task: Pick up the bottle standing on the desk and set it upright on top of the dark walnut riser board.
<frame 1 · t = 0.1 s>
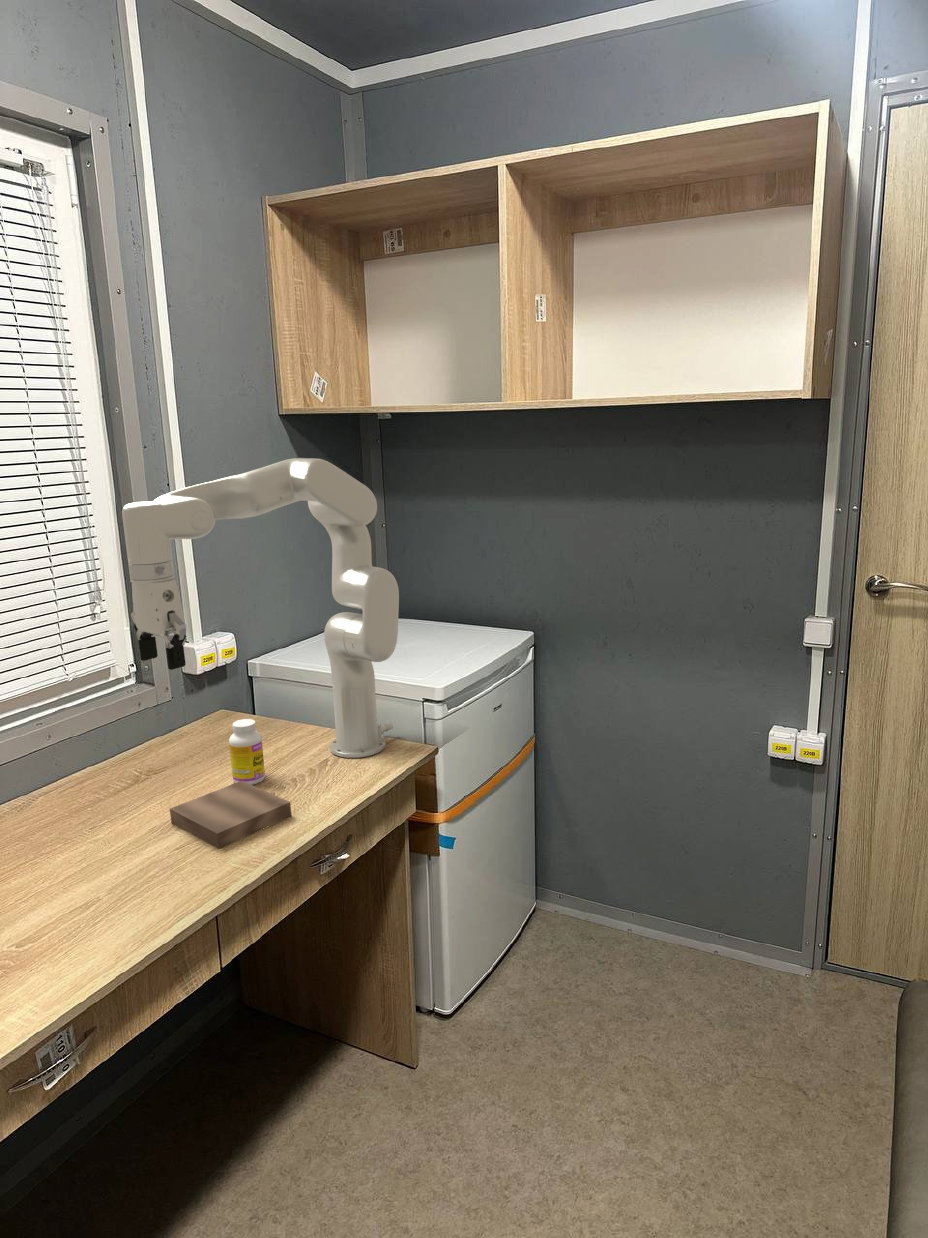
hand: (162, 663, 160), 31 cm above the table, tool pointing down, fingers open, 9 cm apart
walnut riser: (231, 820, 166), on the table
supplement bottle: (249, 781, 184), on the table
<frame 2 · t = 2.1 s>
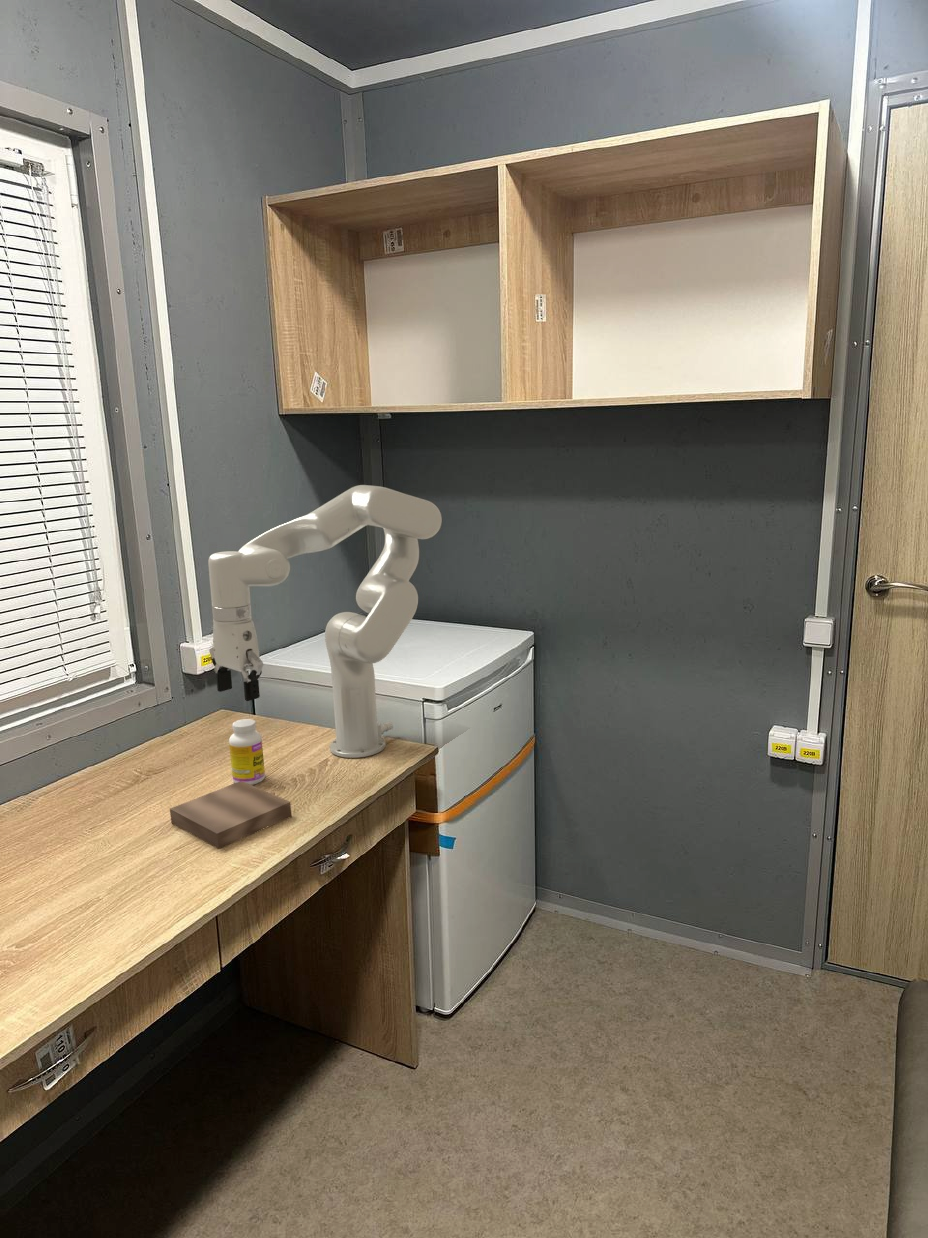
hand: (238, 694, 179), 19 cm above the table, tool pointing down, fingers open, 9 cm apart
nothing on the table moved.
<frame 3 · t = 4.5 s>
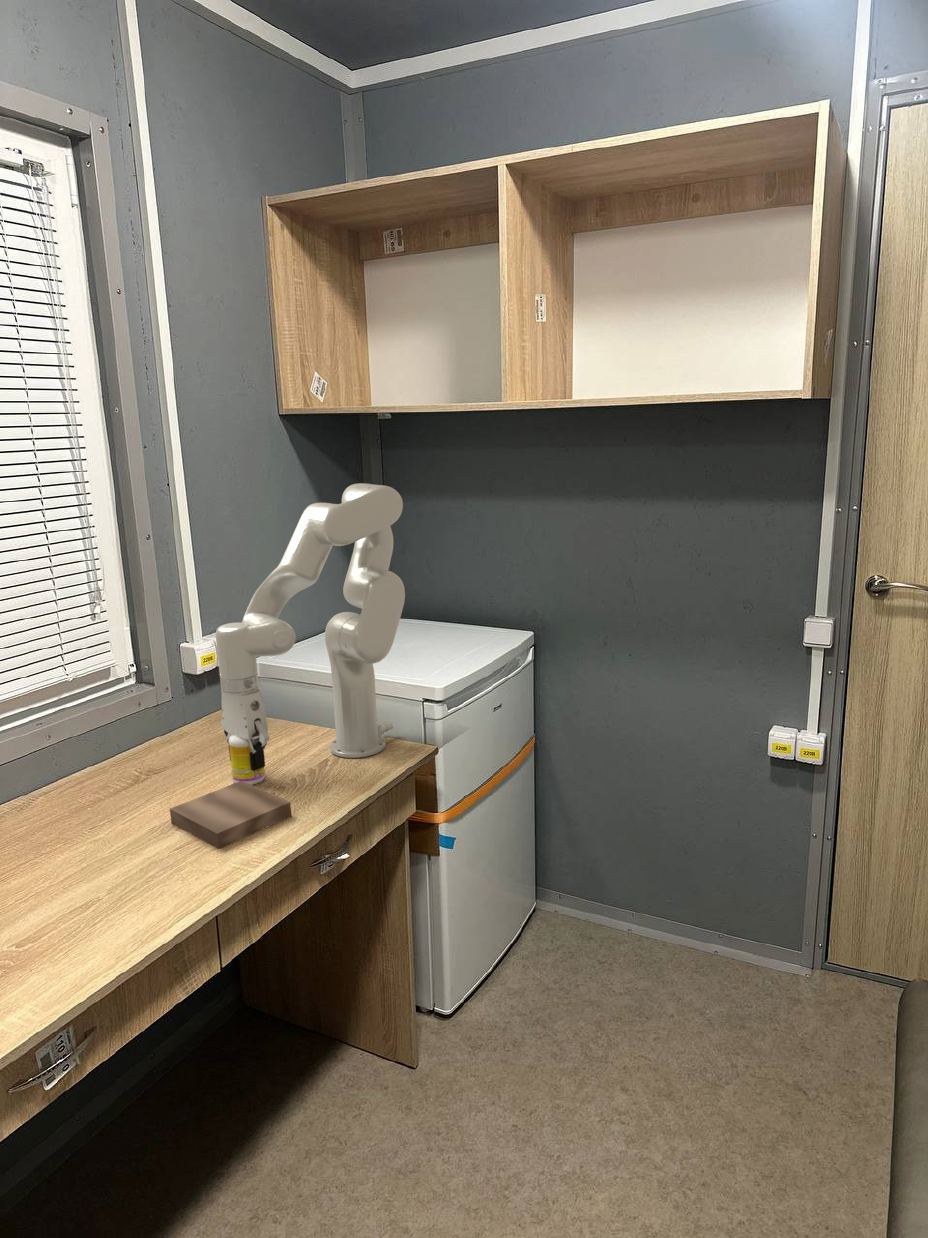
hand: (247, 763, 183), 4 cm above the table, tool pointing down, fingers closed on supplement bottle, 6 cm apart
supplement bottle: (249, 781, 184), on the table, touching gripper
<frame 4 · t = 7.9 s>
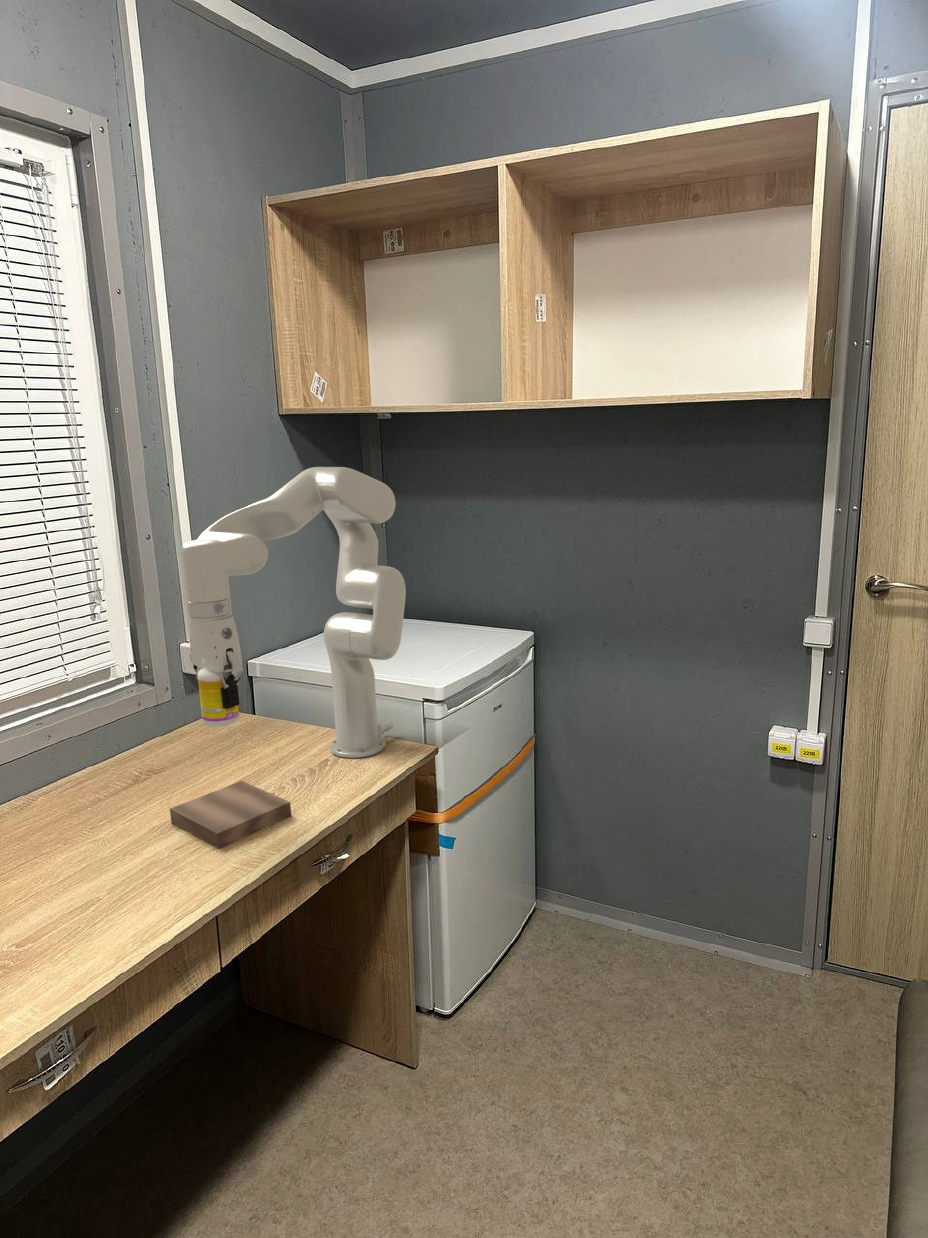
hand: (219, 702, 161), 24 cm above the table, tool pointing down, fingers closed on supplement bottle, 6 cm apart
supplement bottle: (221, 722, 161), point 20 cm above the table, touching gripper
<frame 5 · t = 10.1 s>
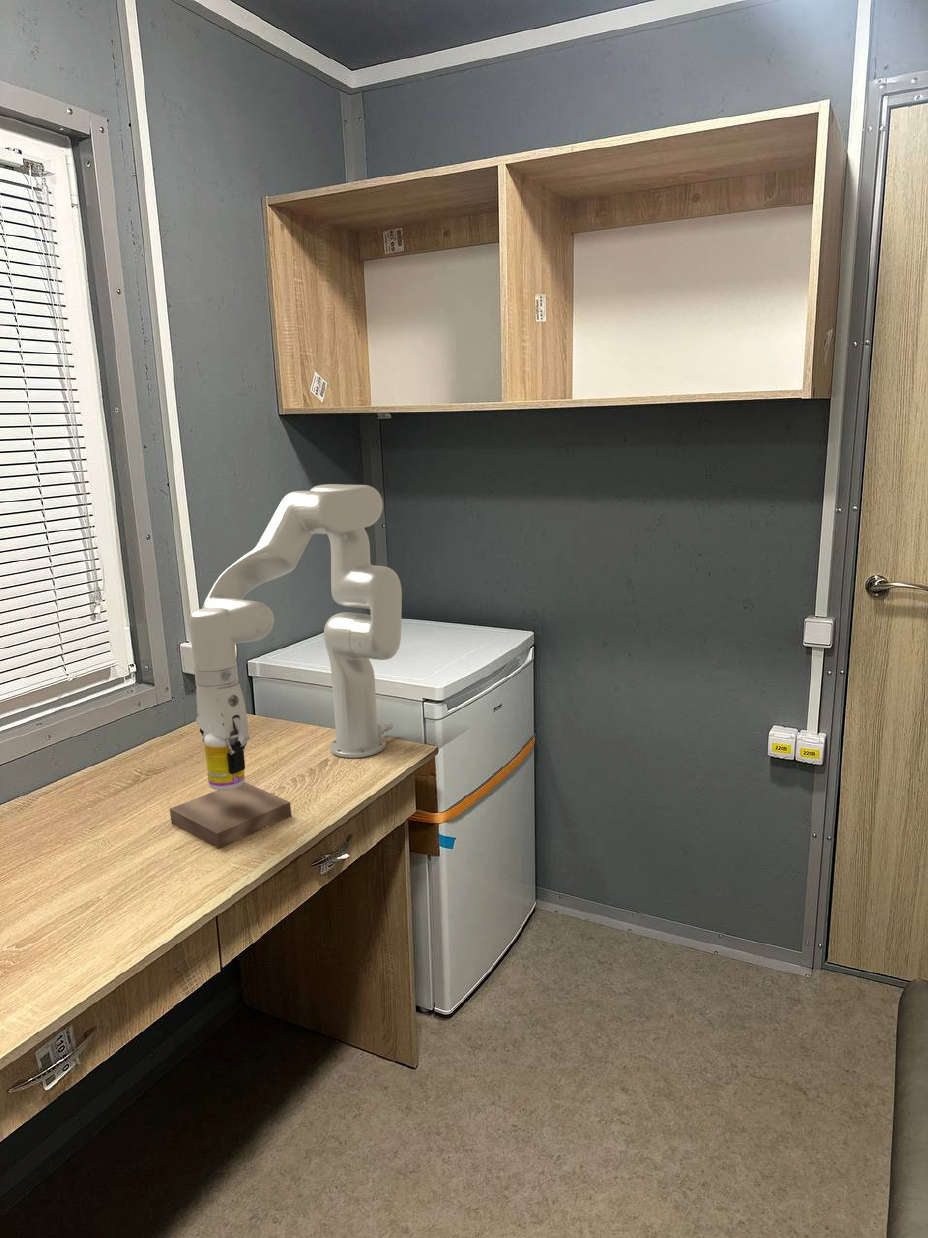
hand: (225, 766, 163), 11 cm above the table, tool pointing down, fingers closed on supplement bottle, 6 cm apart
supplement bottle: (227, 785, 164), point 7 cm above the table, touching gripper
when the fingers open (8 cm above the table, at t = 11.7 s): supplement bottle drops 1 cm, resting on walnut riser.
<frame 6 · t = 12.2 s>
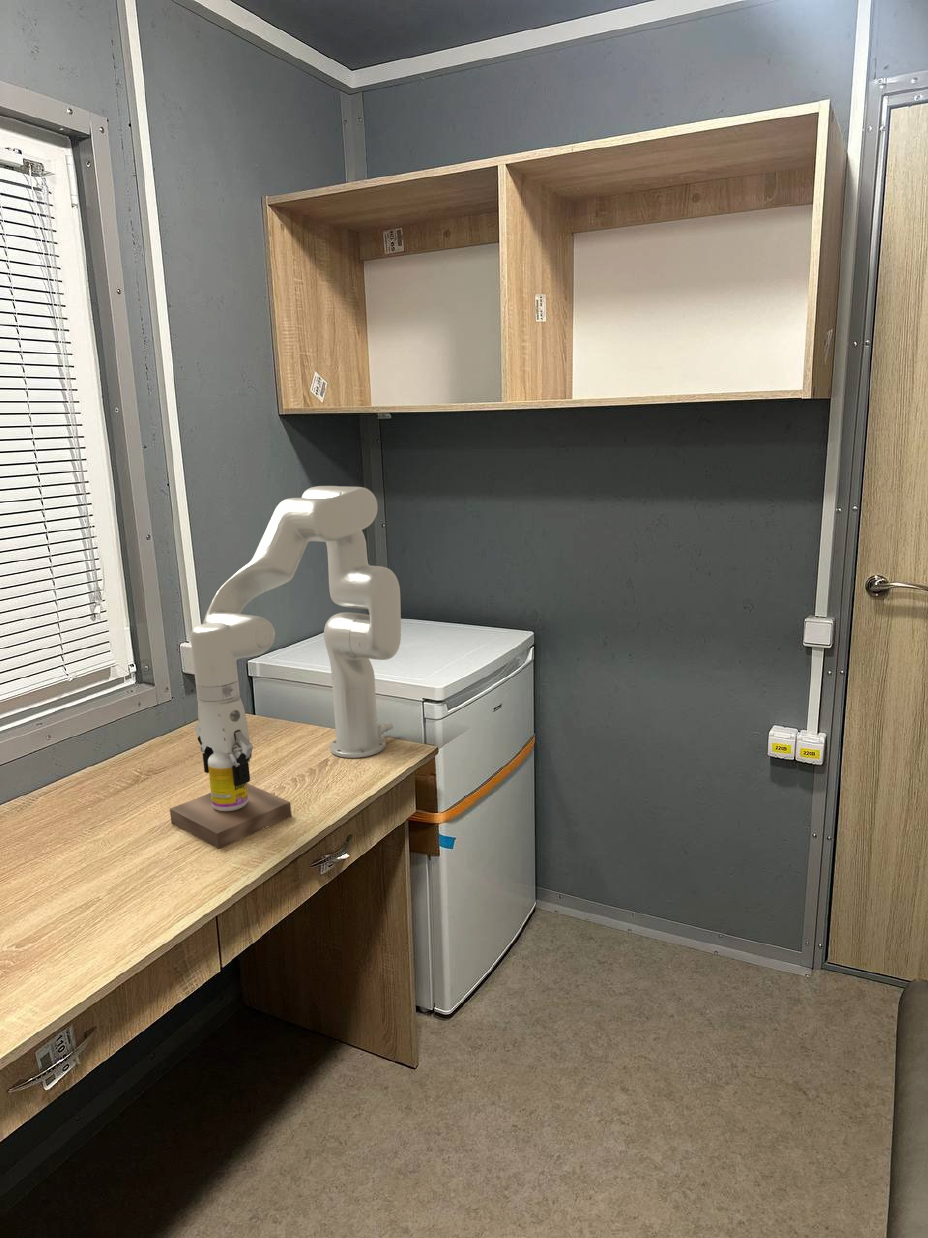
hand: (227, 777, 164), 9 cm above the table, tool pointing down, fingers open, 9 cm apart
supplement bottle: (230, 806, 165), point 3 cm above the table, touching walnut riser
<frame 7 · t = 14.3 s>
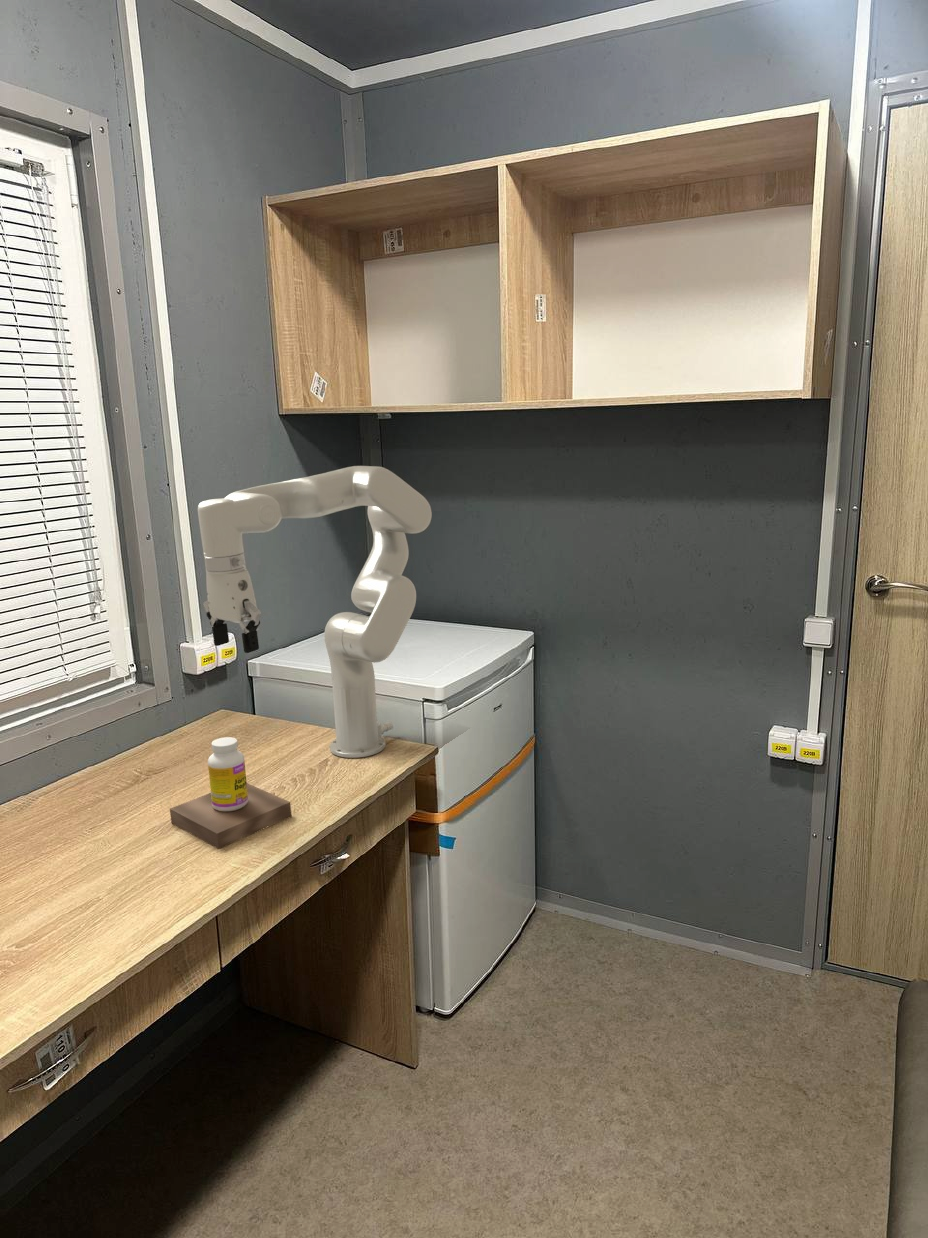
hand: (236, 647, 173), 30 cm above the table, tool pointing down, fingers open, 9 cm apart
nothing on the table moved.
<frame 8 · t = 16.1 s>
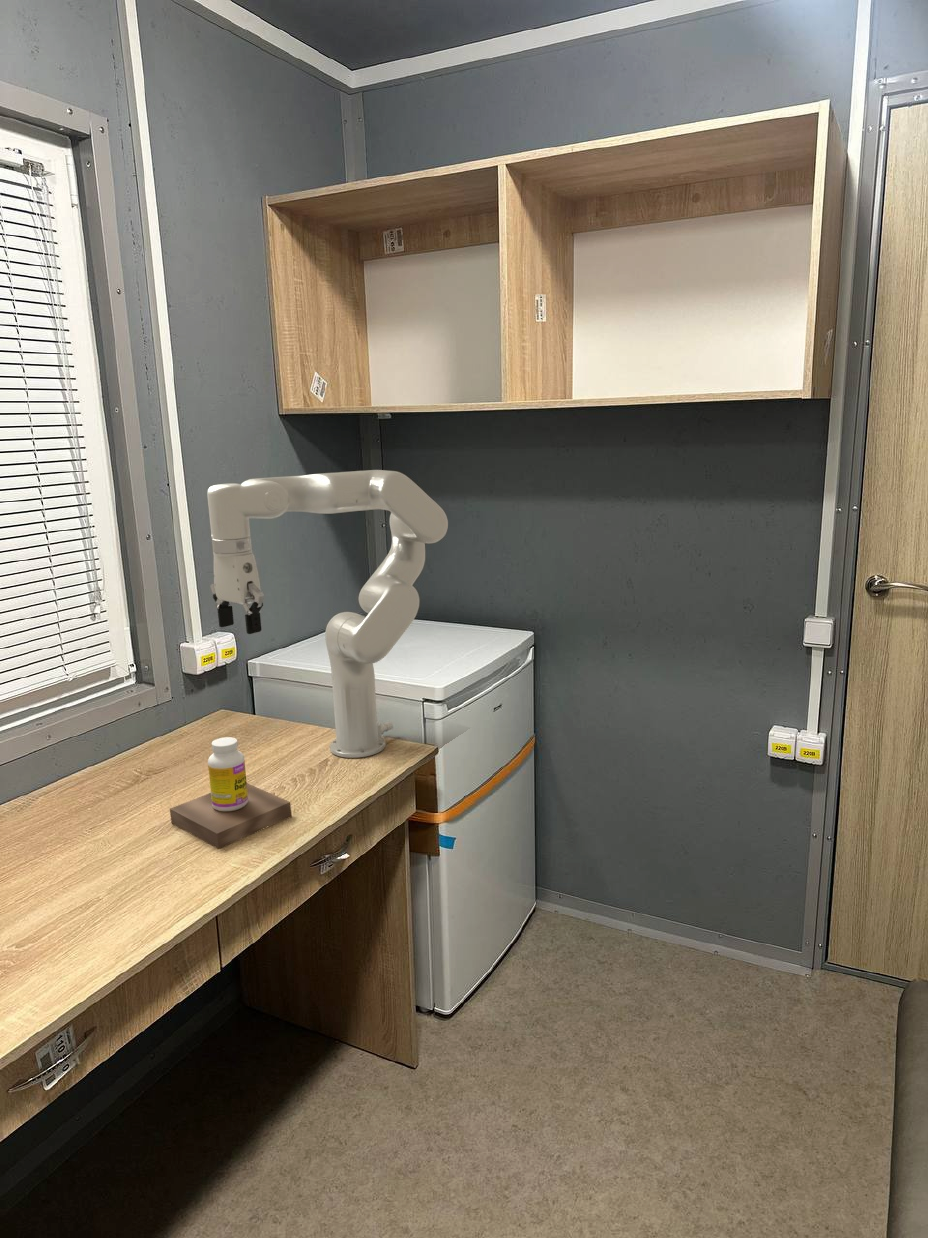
hand: (240, 629, 178), 32 cm above the table, tool pointing down, fingers open, 9 cm apart
nothing on the table moved.
at the end: supplement bottle inside the target area on the walnut riser (0.1 cm from its centre), point 2.8 cm above the walnut riser's base; supplement bottle tilted 0°; the gripper is holding nothing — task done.
